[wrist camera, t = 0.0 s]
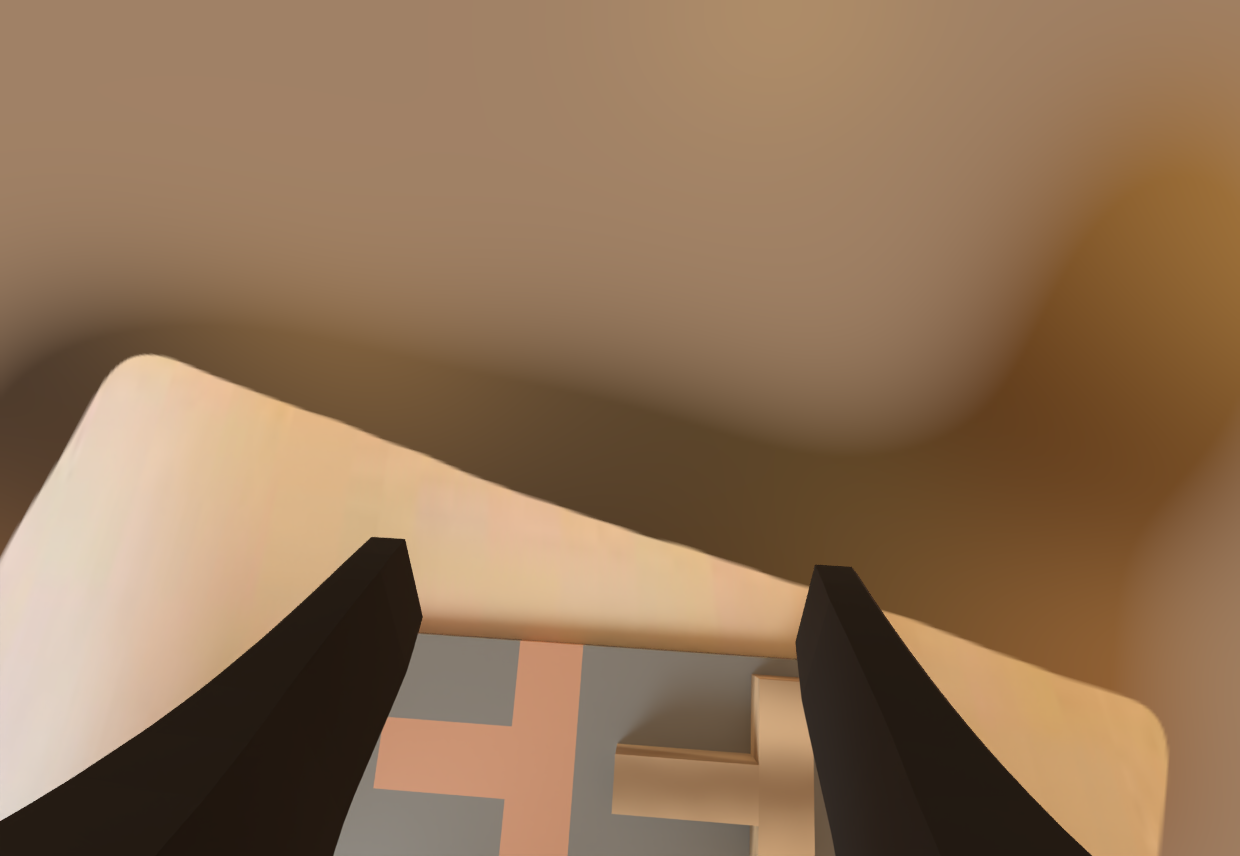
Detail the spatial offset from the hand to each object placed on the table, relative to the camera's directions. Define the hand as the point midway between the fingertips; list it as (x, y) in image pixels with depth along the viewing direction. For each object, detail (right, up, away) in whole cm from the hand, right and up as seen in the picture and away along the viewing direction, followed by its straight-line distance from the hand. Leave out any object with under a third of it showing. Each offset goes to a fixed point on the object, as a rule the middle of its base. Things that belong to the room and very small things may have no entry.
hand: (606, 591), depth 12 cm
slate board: (-2, -18, +29) cm, 34 cm away
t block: (+5, -18, +27) cm, 33 cm away
